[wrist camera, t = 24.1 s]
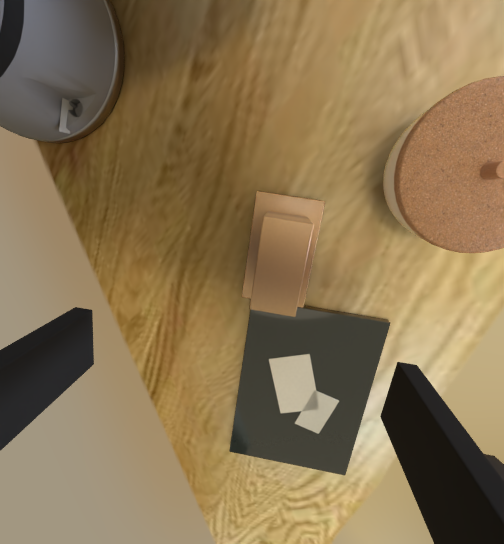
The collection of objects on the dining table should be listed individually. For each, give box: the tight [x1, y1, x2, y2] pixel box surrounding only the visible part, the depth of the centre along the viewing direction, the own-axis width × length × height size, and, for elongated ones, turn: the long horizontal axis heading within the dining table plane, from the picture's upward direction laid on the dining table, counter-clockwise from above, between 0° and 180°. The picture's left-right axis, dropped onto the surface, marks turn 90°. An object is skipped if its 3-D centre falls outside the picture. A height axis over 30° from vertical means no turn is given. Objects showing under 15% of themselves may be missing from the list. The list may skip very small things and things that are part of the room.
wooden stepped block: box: [242, 191, 325, 317], centre depth 25 cm, size 10×6×8 cm, turn 172°
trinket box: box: [383, 76, 504, 253], centre depth 22 cm, size 11×11×9 cm
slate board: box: [230, 306, 390, 475], centre depth 33 cm, size 20×14×1 cm
